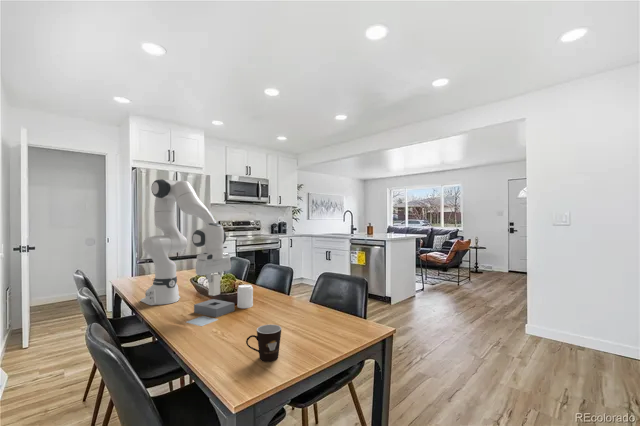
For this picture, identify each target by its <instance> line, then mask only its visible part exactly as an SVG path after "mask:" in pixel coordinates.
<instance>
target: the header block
mask: <svg viewBox="0 0 640 426" xmlns="http://www.w3.org/2000/svg"><path fill="white" fill-rule="evenodd" d="M193 312H194V313H195V314H199V315H202V316H206V317H211V318H219V317H222V316H224V315H227V314H230V313H232V312H235V302H231V301H226V300H221V299H216V298H215V299H214V298H211V299H208V300H204V301H202V302H198V303H195V304H194V303H193Z"/></svg>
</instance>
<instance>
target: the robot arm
mask: <svg viewBox="0 0 640 426" xmlns="http://www.w3.org/2000/svg"><path fill="white" fill-rule="evenodd" d="M150 189H151V194H152V195H153V196H154V197H155V200H154V206H153V207H154V208H153V211H154V213H153V214H154V226H155V227H156V228H158V229H160V230H161V231H162V235H152V236H148V237H146V238H145V239H143V242H142V250H143V252H144V253H145V254H146V255H148V256H149V257H150V258H151V260H152V262H153V263H154V264H153V265H154V278H153V279H152V284H151V286H150V287H149V288H147V289H146V291H145V295H144V297H143V298H141V299H140V302H142V303H144V304H146V305H148V306H157V305H159V306H160V305H168V304H173V303H176V302H178V301H179V300H180V299H181V296H180V295H179V286H178V276H177V264H176V262H175V261H173V260H172V259H170V257H169V254H177V253H180V252H183V251H185V250H186V249H187V248H188V239H187V237H186V236H184V234H182V232H180V230H179V228H178V226H177V220H176V204H177V206H178V208H179V210H180V211H181V212H182V213H184V214H187V215H190V216H193V217H197V218H198V219H200V220H202V221H203V223H204V224H205V226H204V227H202V228H200V229H199V228H198V229H196V230H194V232H193V233H192V237H191V241H192V243H193V245H194V246H195V247H197V248H205V251H202V252H201V253H199V254H196V260H197V261H196V264H195V273H196V275H197V276H201V277H202V276H205V277H206V279H207V284H209V283H211V282H212V279H211V277H210V276H211V275H212V274H220V281H221V277H222V275H223V273H224V272H227V271H230V270H231V268H232V263H231V256H230V253H228V252H224V251H225V249H224V247H225V246H224V244H225V243H226V240H227V233H226V232H225V230H224V227H223V225H222V224H221V223H219V222H217V220H216V219H215V216H214V215H213V214H212V212H211V210H210V209H209V208H208V206H207V205H205V204H204V203H203V201H201V200H200V198H199V196H198V195H197V192H196V190H195V188H194V187H193V186H192V185H191V183H190V182H189V181H186V180H175V179H173V180H172V179H163V178H162V179H161V178H160V179H156V180H154V181H153V182H152V183H151V187H150Z"/></svg>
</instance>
